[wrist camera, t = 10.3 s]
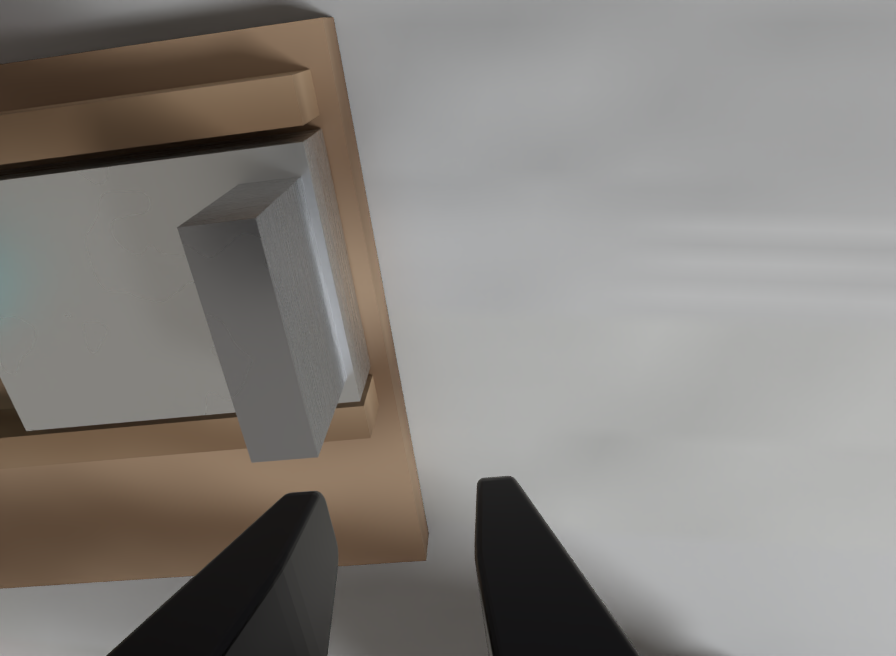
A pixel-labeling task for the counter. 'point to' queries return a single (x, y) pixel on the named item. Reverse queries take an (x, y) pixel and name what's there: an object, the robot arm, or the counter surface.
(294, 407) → the cover slide
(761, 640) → the counter surface
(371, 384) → the housing board
